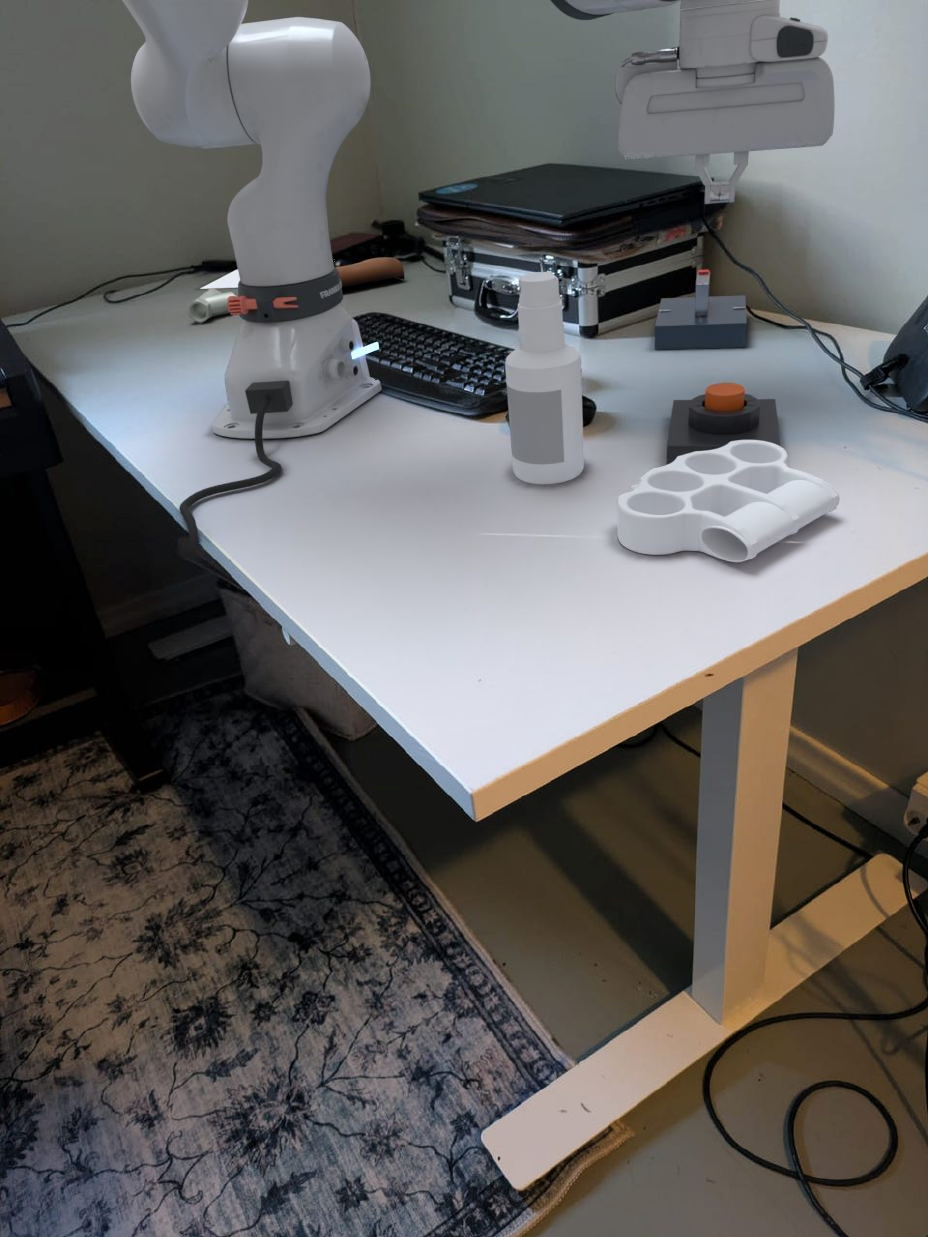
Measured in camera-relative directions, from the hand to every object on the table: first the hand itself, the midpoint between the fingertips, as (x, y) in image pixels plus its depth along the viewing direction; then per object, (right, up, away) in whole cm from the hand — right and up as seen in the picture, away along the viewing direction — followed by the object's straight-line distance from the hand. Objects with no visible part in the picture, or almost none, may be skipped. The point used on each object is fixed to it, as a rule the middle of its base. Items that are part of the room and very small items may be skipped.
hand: (719, 202), depth 93 cm
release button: (-1, -22, -5) cm, 23 cm away
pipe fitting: (-67, +8, +61) cm, 91 cm away
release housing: (-1, -25, -3) cm, 25 cm away
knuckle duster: (-5, -34, -16) cm, 38 cm away
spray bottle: (-18, -28, -5) cm, 34 cm away
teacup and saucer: (-64, +25, +86) cm, 110 cm away
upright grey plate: (+5, -2, +25) cm, 26 cm away
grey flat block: (+5, -5, +27) cm, 28 cm away
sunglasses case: (-46, +16, +69) cm, 85 cm away
